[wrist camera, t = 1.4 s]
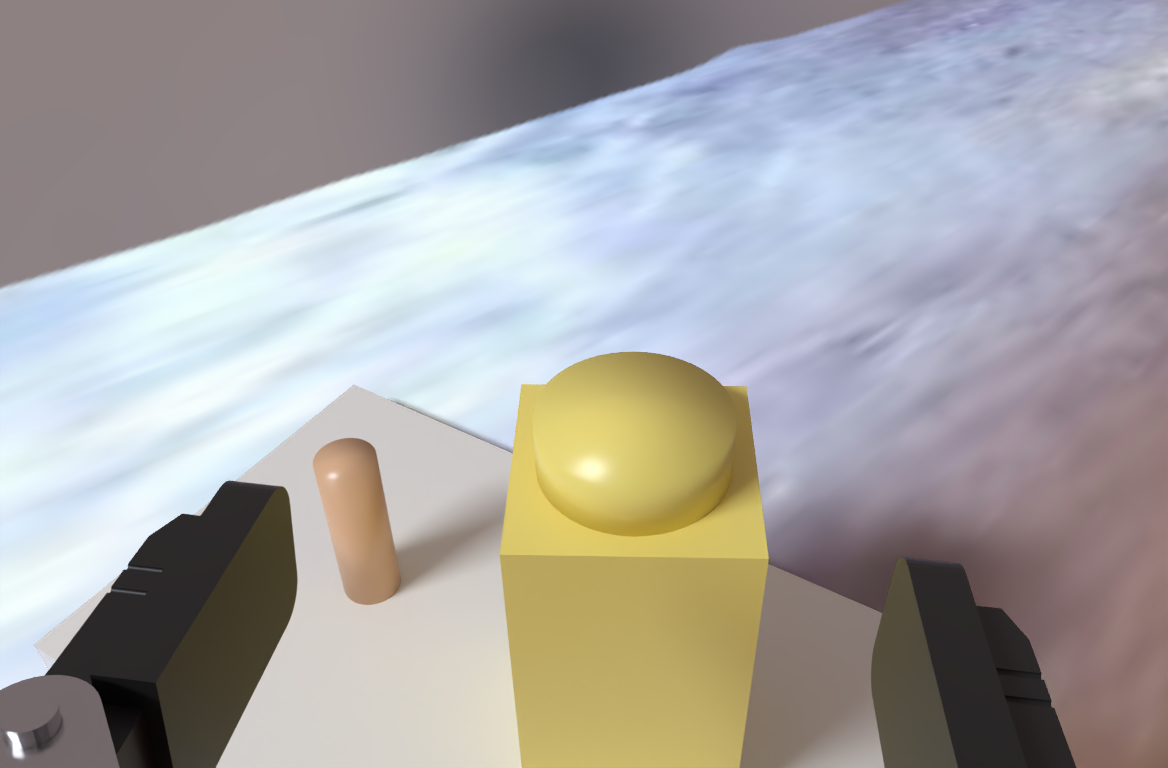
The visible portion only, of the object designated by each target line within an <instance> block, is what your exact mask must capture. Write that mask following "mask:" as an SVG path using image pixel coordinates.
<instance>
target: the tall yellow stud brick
mask: <svg viewBox="0 0 1168 768" xmlns="http://www.w3.org/2000/svg"><path fill="white" fill-rule="evenodd" d="M768 561H769V557H768V549H767V541H766V534H765V526H764V518H763V510H762V503H761V495H760V487H759V480H758V472H757V464H756V456H755V449H754V441H753V433H752V426H751V418H750V410H749V402H748V395H747V387H746V386H722V385H721V384H720V382H718V381H717V380H716V379H715V378H714V377H713V376H711V375H710V374H708V373H707V372H706V371H704V370H702V369H701V368H699V367H697V366H695V365H693V364H691V363H688V362H686V361H683V360H680V359H677V358H674V357H671V356H666V355H661V354H655V353H647V352H619V353H611V354H605V355H600V356H596V357H593V358H589V359H586V360H583V361H581V362H578V363H576V364H574V365H572V366H570V367H568V368H566V369H565V370H563V371H562V372H560V373H559V374H557V375H556V376H555V377H554V378H552V379H551V380H550V381H549V382H548V383H547V384H546V385H528V384H522V385H521V393H520V401H519V408H518V416H517V424H516V431H515V439H514V447H513V455H512V462H511V470H510V478H509V486H508V493H507V501H506V509H505V517H504V524H503V532H502V540H501V548H500V563H501V573H502V583H503V592H504V602H505V612H506V621H507V631H508V640H509V650H510V660H511V669H512V679H513V689H514V698H515V708H516V718H517V727H518V737H519V747H520V756H521V766H522V768H740V761H741V753H742V746H743V739H744V732H745V725H746V718H747V711H748V703H749V696H750V689H751V682H752V675H753V668H754V661H755V654H756V646H757V639H758V632H759V625H760V618H761V611H762V604H763V597H764V589H765V582H766V575H767V568H768Z"/></svg>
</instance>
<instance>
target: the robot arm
mask: <svg viewBox="0 0 1168 768" xmlns="http://www.w3.org/2000/svg"><path fill="white" fill-rule="evenodd" d="M297 582H298V577H297V566H296V556H295V546H294V537H293V527H292V517H291V508H290V499H289V495H288V492H287V490H286V489H285V487H283V486H274V485H265V484H256V483H247V482H238V481H227V482H225V483H224V484H223V485H222V486H221V487H220V489H219V490H218V491H217V493H216V494H215V496H214V497H213V499H212V500H211V501H210V503H209V504H208V506H207V507H206V509H205V510H204V511H203V513H202V514H201V516H198V515H189V514H181V515H180V516H178V517H177V518H175V519H174V520H172V521H171V522H169V523H168V524H166V525H165V526H163V527H162V528H160V529H159V530H158V531H156V532H155V533H153V534H152V535H150V536H149V537H148V538H147V539H146V541H145V542H144V543H143V545H142V546H141V547H140V549H139V550H138V552H137V553H136V554H135V556H134V557H133V558H132V560H131V561H130V562H129V564H128V569H127V570H123V572H122V573H121V574H120V576H119V577H118V578H117V580H116V581H115V582H114V584H113V585H112V586H111V592H110V593H106V594H105V596H104V597H103V598H102V600H101V601H100V602H99V604H98V605H97V606H96V608H95V609H94V610H93V612H92V613H91V614H90V616H89V617H88V618H87V620H86V621H85V622H84V624H83V625H82V626H81V628H80V629H79V630H78V632H77V633H76V634H75V636H74V637H73V638H72V640H71V641H70V642H69V644H68V645H67V646H66V648H65V649H64V651H63V652H62V653H61V655H60V656H59V657H58V659H57V660H56V661H55V663H54V664H53V665H52V667H51V668H50V669H49V671H48V672H47V673H46V675H45V676H40V677H34V678H30V679H26V680H23V681H20V682H18V683H15V684H12V685H10V686H8V687H6V688H4V689H2V690H0V768H216V766H217V764H218V762H219V760H220V758H221V756H222V754H223V752H224V750H225V748H226V746H227V744H228V742H229V740H230V738H231V736H232V734H233V732H234V731H235V729H236V727H237V725H238V723H239V721H240V719H241V717H242V715H243V713H244V711H245V709H246V707H247V705H248V703H249V701H250V699H251V697H252V695H253V693H254V691H255V689H256V687H257V685H258V683H259V681H260V679H261V677H262V675H263V673H264V671H265V669H266V667H267V665H268V663H269V661H270V659H271V657H272V655H273V653H274V651H275V649H276V647H277V645H278V643H279V641H280V639H281V637H282V635H283V633H284V631H285V629H286V627H287V625H288V623H289V621H290V618H291V616H292V612H293V609H294V605H295V600H296V594H297ZM871 690H872V698H873V704H874V709H875V715H876V721H877V727H878V732H879V738H880V744H881V750H882V755H883V761H884V767H885V768H1076V766H1075V763H1074V761H1073V758H1072V755H1071V752H1070V750H1069V747H1068V744H1067V741H1066V739H1065V736H1064V733H1063V731H1062V728H1061V725H1060V722H1059V720H1058V717H1057V714H1056V712H1055V709H1054V708H1052V707H1051V698H1050V695H1049V693H1048V690H1047V687H1046V684H1045V682H1044V680H1041V671H1040V668H1039V665H1038V663H1037V660H1036V657H1035V655H1034V652H1033V649H1032V646H1031V644H1030V641H1029V639H1028V638H1027V637H1026V636H1025V635H1024V634H1023V632H1022V631H1021V630H1020V629H1019V628H1018V627H1017V626H1016V625H1015V623H1014V622H1013V621H1012V620H1011V619H1010V618H1009V617H1008V616H1007V614H1006V613H1005V612H1004V611H1003V610H1002V609H999V608H990V607H982V606H976V604H975V601H974V598H973V595H972V592H971V589H970V586H969V582H968V579H967V576H966V573H965V570H964V568H963V567H962V565H961V564H958V563H950V562H941V561H932V560H923V559H914V558H905V557H901V558H899V559H898V561H897V563H896V565H895V568H894V571H893V575H892V579H891V583H890V586H889V590H888V594H887V598H886V601H885V605H884V609H883V613H882V617H881V620H880V624H879V628H878V632H877V636H876V639H875V643H874V648H873V654H872V663H871Z"/></svg>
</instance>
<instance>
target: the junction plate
mask: <svg viewBox="0 0 1168 768" xmlns="http://www.w3.org/2000/svg"><path fill="white" fill-rule="evenodd" d="M512 455H513V453H510V452H508V451H506V450H504V449H501V448H499V447H497V446H494V445H492V444H490V443H487V442H485V441H483V440H480V439H478V438H476V437H473V436H471V435H469V434H466V433H464V432H462V431H460V430H457V429H455V428H453V427H450V426H448V425H446V424H443V423H441V422H439V421H436V420H434V419H432V418H429V417H427V416H425V415H422V414H420V413H418V412H416V411H413V410H411V409H409V408H406V407H404V406H402V405H399V404H397V403H395V402H392V401H390V400H388V399H385V398H383V397H381V396H378V395H376V394H374V393H372V392H369V391H367V390H365V389H362V388H360V387H358V386H355V385H353V386H352V387H351V388H349V389H348V390H347V391H346V392H344V393H343V394H342V395H341V396H339V397H338V398H337V399H336V400H335V401H333V402H332V403H331V404H330V405H328V406H327V407H326V408H325V409H323V410H322V411H321V412H320V413H319V414H317V415H316V416H315V417H314V418H312V419H311V420H310V421H309V422H307V423H306V424H305V425H304V426H303V427H301V428H300V429H299V430H298V431H296V432H295V433H294V434H293V435H291V436H290V437H289V438H288V439H287V440H285V441H284V442H283V443H282V444H280V445H279V446H278V447H277V448H275V449H274V450H273V451H272V452H271V453H269V454H268V455H267V456H266V457H264V458H263V459H262V460H261V461H259V462H258V463H257V464H256V465H255V466H253V467H252V468H251V469H250V470H248V471H247V472H246V473H245V474H243V475H242V476H241V477H240V478H239V479H237V480H236V481H238V482H247V483H256V484H265V485H274V486H283V487H285V489H286V490H287V492H288V495H289V499H290V508H291V517H292V527H293V537H294V546H295V556H296V566H297V577H298V582H297V594H296V600H295V605H294V609H293V612H292V616H291V618H290V621H289V623H288V625H287V627H286V629H285V631H284V633H283V635H282V637H281V639H280V641H279V643H278V645H277V647H276V649H275V651H274V653H273V655H272V657H271V659H270V661H269V663H268V665H267V667H266V669H265V671H264V673H263V675H262V677H261V679H260V681H259V683H258V685H257V687H256V689H255V691H254V693H253V695H252V697H251V699H250V701H249V703H248V705H247V707H246V709H245V711H244V713H243V715H242V717H241V719H240V721H239V723H238V725H237V727H236V729H235V731H234V732H233V734H232V736H231V738H230V740H229V742H228V744H227V746H226V748H225V750H224V752H223V754H222V756H221V758H220V760H219V762H218V764H217V766H216V768H522V766H521V756H520V747H519V737H518V727H517V718H516V708H515V698H514V689H513V679H512V669H511V660H510V650H509V640H508V631H507V621H506V612H505V602H504V592H503V583H502V573H501V563H500V548H501V540H502V532H503V524H504V517H505V509H506V501H507V493H508V486H509V478H510V470H511V462H512ZM209 503H210V502H209ZM209 503H208V504H209ZM208 504H207V505H205V506H204V507H203V508H202V509H200V510H199V511H198V512H197V513H195V514H194V515H198V516H201V514H202V513H203V511H204V510H205V509H206V507H207V506H208ZM119 576H120V575H119ZM119 576H118V577H119ZM118 577H117V578H118ZM117 578H115V579H114V580H113V581H112V582H111V583H109V584H108V585H107V586H106V587H104V588H103V589H102V590H101V591H99V592H98V593H97V594H96V595H95V596H93V597H92V598H91V599H90V600H88V601H87V602H86V603H85V604H83V605H82V606H81V607H80V608H79V609H77V610H76V611H75V612H74V613H72V614H71V615H70V616H69V617H68V618H66V619H65V620H64V621H63V622H61V623H60V624H59V625H58V626H56V627H55V628H54V629H53V630H52V631H50V632H49V633H48V634H47V635H45V636H44V637H43V638H42V639H40V640H39V641H38V642H37V643H36V644H34V647H35V648H36V650H37V652H38V654H39V655H40V657H41V659H42V661H43V662H44V664H45V666H46V668H47V669H48V671H49V669H50V668H51V667H52V665H53V664H54V663H55V661H56V660H57V659H58V657H59V656H60V655H61V653H62V652H63V651H64V649H65V648H66V646H67V645H68V644H69V642H70V641H71V640H72V638H73V637H74V636H75V634H76V633H77V632H78V630H79V629H80V628H81V626H82V625H83V624H84V622H85V621H86V620H87V618H88V617H89V616H90V614H91V613H92V612H93V610H94V609H95V608H96V606H97V605H98V604H99V602H100V601H101V600H102V598H103V597H104V596H105V594H106V593H110V592H111V586H112V585H113V584H114V582H115V581H116V580H117ZM881 617H882V613H881V612H879V611H876V610H874V609H872V608H869V607H867V606H865V605H862V604H860V603H858V602H855V601H853V600H851V599H849V598H846V597H844V596H842V595H839V594H837V593H835V592H832V591H830V590H828V589H825V588H823V587H821V586H818V585H816V584H814V583H811V582H809V581H807V580H805V579H802V578H800V577H798V576H795V575H793V574H791V573H788V572H786V571H784V570H781V569H779V568H777V567H774V566H772V565H770V564H768V568H767V575H766V582H765V589H764V597H763V604H762V611H761V618H760V625H759V632H758V639H757V646H756V654H755V661H754V668H753V675H752V682H751V689H750V696H749V703H748V711H747V718H746V725H745V732H744V739H743V746H742V753H741V761H740V768H885V767H884V761H883V755H882V750H881V744H880V738H879V732H878V727H877V721H876V715H875V709H874V704H873V698H872V690H871V663H872V654H873V648H874V643H875V639H876V636H877V632H878V628H879V624H880V620H881Z"/></svg>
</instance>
